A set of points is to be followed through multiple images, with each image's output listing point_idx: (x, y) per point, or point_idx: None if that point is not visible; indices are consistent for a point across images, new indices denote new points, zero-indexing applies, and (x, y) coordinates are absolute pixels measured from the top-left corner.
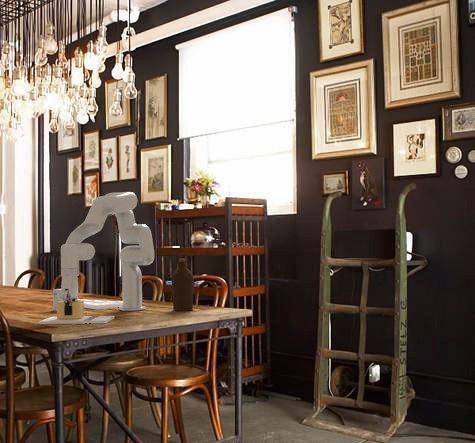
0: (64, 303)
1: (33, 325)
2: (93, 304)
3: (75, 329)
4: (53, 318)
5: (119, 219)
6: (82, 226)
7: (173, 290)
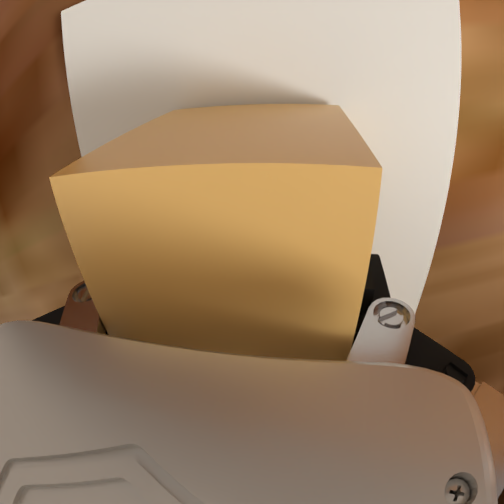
0: (67, 306)
1: (27, 16)
2: None
3: (6, 307)
4: (274, 29)
5: None
6: None
7: None
